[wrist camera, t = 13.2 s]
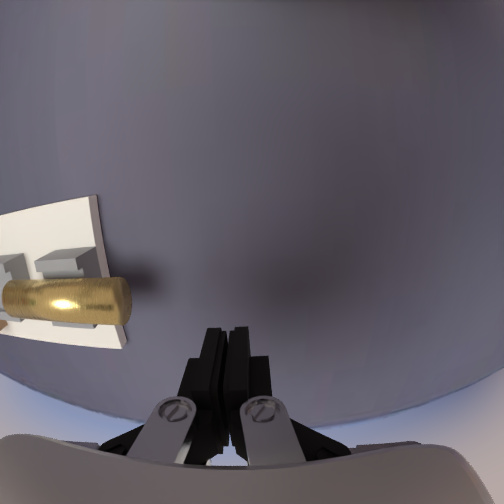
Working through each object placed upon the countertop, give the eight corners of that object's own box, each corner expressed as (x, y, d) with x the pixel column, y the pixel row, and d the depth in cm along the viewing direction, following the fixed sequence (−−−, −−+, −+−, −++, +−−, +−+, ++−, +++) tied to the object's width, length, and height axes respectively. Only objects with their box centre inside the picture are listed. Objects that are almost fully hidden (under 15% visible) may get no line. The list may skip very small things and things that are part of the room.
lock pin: (125, 270, 16) (105, 288, 14) (135, 311, 17) (118, 334, 14) (19, 274, 16) (-3, 288, 14) (29, 308, 17) (9, 324, 14)
